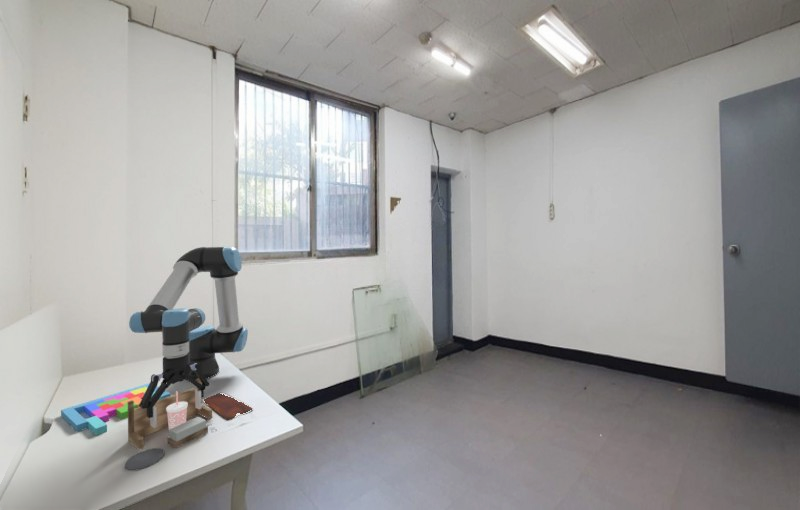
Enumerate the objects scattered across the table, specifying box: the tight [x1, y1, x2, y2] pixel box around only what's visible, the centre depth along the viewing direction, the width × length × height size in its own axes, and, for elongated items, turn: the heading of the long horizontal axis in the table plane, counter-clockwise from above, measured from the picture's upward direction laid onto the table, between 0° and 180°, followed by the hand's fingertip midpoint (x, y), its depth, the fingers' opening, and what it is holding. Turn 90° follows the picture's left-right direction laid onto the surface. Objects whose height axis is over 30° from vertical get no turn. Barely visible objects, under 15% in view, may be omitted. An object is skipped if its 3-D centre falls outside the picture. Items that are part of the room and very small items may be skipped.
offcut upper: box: [168, 416, 207, 441], centre depth 104 cm, size 9×5×2 cm, turn 151°
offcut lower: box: [166, 425, 209, 449], centre depth 104 cm, size 10×5×2 cm, turn 150°
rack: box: [127, 378, 213, 451], centre depth 109 cm, size 22×9×13 cm, turn 149°
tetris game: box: [60, 382, 172, 436], centre depth 122 cm, size 28×3×28 cm
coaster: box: [124, 447, 165, 471], centre depth 93 cm, size 9×9×1 cm
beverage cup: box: [166, 390, 188, 430], centre depth 107 cm, size 6×6×14 cm
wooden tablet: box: [204, 392, 253, 421], centre depth 126 cm, size 27×10×2 cm, turn 52°
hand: (177, 416), depth 107 cm, fingers open, 13 cm apart
